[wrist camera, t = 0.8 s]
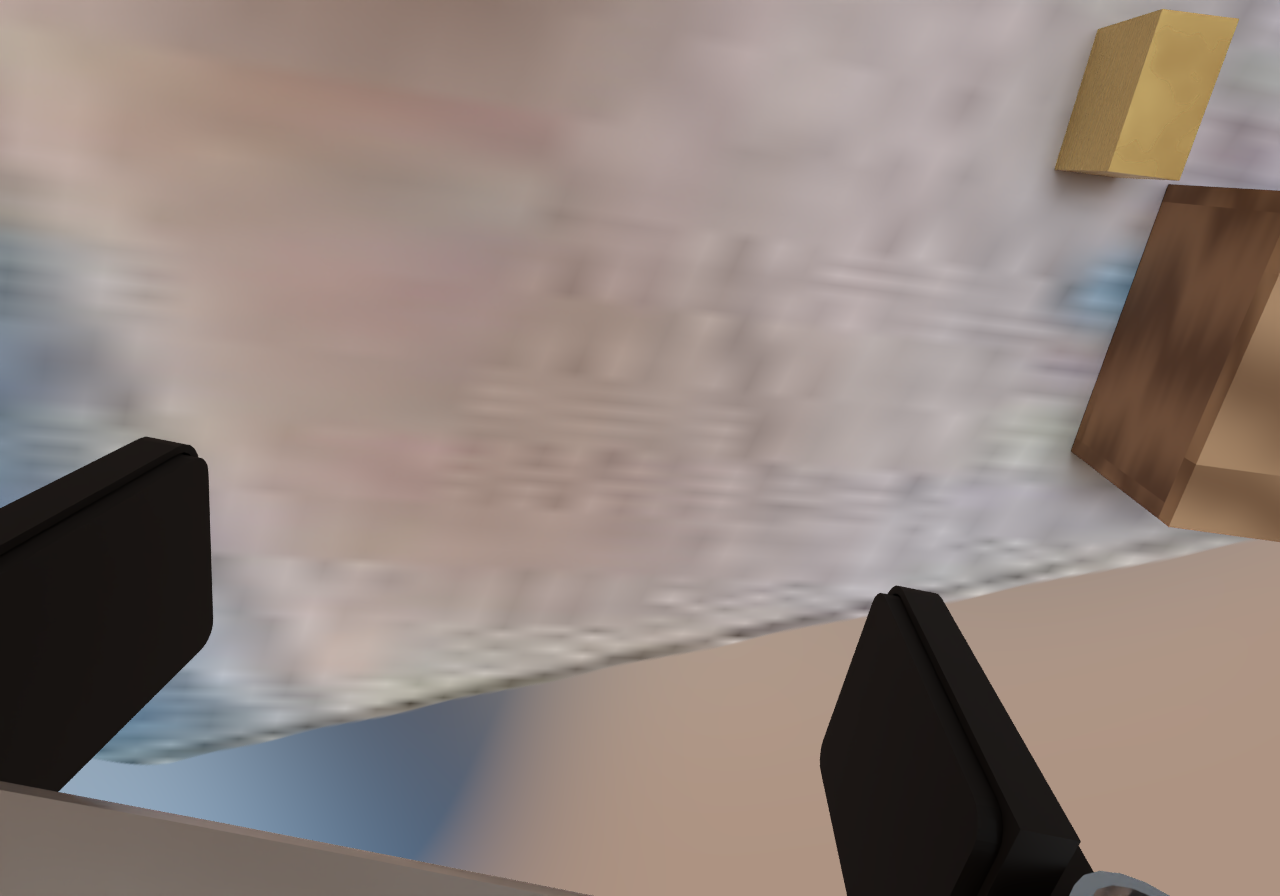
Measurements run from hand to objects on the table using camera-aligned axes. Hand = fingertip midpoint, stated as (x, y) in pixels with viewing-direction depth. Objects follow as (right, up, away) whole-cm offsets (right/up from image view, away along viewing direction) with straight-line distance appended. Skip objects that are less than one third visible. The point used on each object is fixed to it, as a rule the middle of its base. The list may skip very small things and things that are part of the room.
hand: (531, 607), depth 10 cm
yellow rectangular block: (+23, +18, +25) cm, 39 cm away
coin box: (+32, +8, +28) cm, 43 cm away
